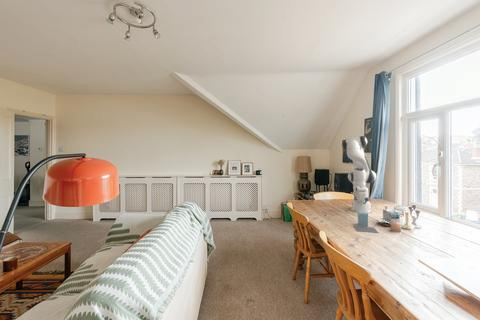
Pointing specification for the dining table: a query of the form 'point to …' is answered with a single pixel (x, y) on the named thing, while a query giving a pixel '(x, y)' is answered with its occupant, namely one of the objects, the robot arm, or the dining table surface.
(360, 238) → the dining table surface
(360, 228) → the mat
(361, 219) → the block
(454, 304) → the dining table surface
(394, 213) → the light bulb box
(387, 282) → the dining table surface
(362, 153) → the robot arm
